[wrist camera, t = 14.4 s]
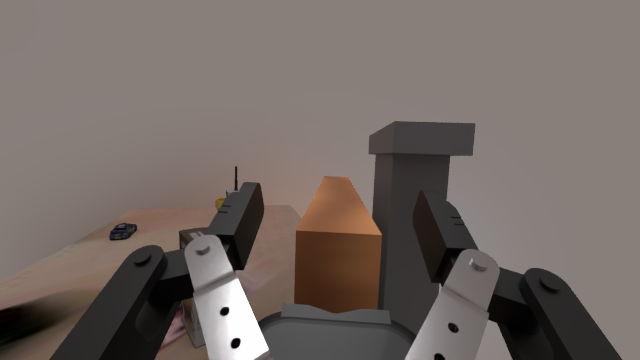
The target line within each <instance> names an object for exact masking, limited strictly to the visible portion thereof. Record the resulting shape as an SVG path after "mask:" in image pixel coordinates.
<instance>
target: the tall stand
mask: <svg viewBox="0 0 640 360" xmlns="http://www.w3.org/2000/svg"><path fill="white" fill-rule="evenodd" d="M474 133H475V124H473V123H436V122H401V121H395V122H393V123H391V124H389V125H388V126H386V127H384V128H382V129H381V130H379V131H377V132H376V133H374V134H372V135H370V137H369V154H376V161H375V179H374V197H373V215H372V219H373V221H374V222H375V224H376V226H377V227H378V229H379V231H380V232H381V234H382V243H381V259H380V276H379V292H378V309H377V310H388V311H389V314H390V319H391V320H394V321H396V322H398V323H400V324H402V325H404V326H405V327H407V328H408V329H410V330H411V331H412V332H413V333H414V334H416V335H418V333H419V331H420V329H421V327H422V325H423V323H424V321H425V319H426V318H427V316H428V314H429V312H430V310H431V308H432V306H433V304H434V302H435V300H436V298H437V297H438V293H439V283H431V280H430V277H429V274H428V271H427V267H426V264H425V261H424V258H423V255H422V252H421V248H420V245H419V242H418V239H417V236H416V233H415V229H414V226H413V220H412V218H413V211H414V208H415V205H416V201H417V198H418V194H419V192H420V190H431V191H438V193H439V194H440V196H441V198H442V200H443V201H446V199H447V187H448V175H449V174H448V173H449V163H450V156H471V155H473V143H474Z"/></svg>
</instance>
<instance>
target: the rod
mask: <svg viewBox="0 0 640 360" xmlns="http://www.w3.org/2000/svg"><path fill="white" fill-rule="evenodd" d="M381 243H382V234H381V232H380V231H379V229H378V227H377V226H376V224H375V222H374V221H373V219H372V217H371V216H370V214H369V212H368V211H367V209H366V207H365V205H364V204H363V202H362V201H361V199H360V197H359V195H358V193H357V192H356V190H355V188H354V187H353V185H352V183H351V182H350V180H349V178H348V177H330V176H325V177H324V179H323V180H322V183H321V184H320V186H319V188H318V190H317V192H316V194H315V196H314V198H313V199H312V201H311V203H310V205H309V207H308V209H307V211H306V213H305V215H304V216H303V218H302V220H301V222H300V224H299V226H298V228H297V230H296V255H295V292H294V304H301V305H310V306H313V307H316V308H319V309H322V310H325V311H328V312H331V313H335V314H339V313H344V312H349V311H354V310H359V309H374V310H377V309H378V292H379V276H380V259H381Z"/></svg>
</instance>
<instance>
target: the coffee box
mask: <svg viewBox="0 0 640 360" xmlns="http://www.w3.org/2000/svg"><path fill="white" fill-rule="evenodd" d="M207 229H208V227H207V228H194V229H188V230H182V231H179V238H180V249H184V248H186V247H187V245H188V244H189V243H190V242H191V241H192V240H194V239H196V238H197V237H200V236H203V235H204V234H205V232H206V231H207ZM181 317H182V321H183V323H184V325H185V327H186V330H187V332H188V334H189V336H190V339H191V341H192V343H193V345H194V347H195V348H197V347H199V346H201V345H204V344H206V343H205V339H204V335H203V331H202V328H201V324H200V320H199V316H198V312H197V308H196V305H195V301H194V298H190V299H186V300H182V301H181Z"/></svg>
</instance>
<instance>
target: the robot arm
mask: <svg viewBox="0 0 640 360" xmlns="http://www.w3.org/2000/svg"><path fill="white" fill-rule="evenodd" d="M263 215H264V204H263V197H262V191H261V186H260V183H252V182H251V183H250V182H244V183H243V185H242V187H241V188H240V190H239V192H232V193H231V194H230V195H229V196H227V197H226V198H225V200H224V202H223V203H222V205H221V207H220V209H219V210H218V213H217V214H216V215H215V217H214V219H213V220H212V222H211V224H210V226H209V227H208V229H207V231H206V232H205V234H204V235H203V236H200V237H197V238H196V239H194V240H192V241H191V242H190V243H189V244H188V245H187V247H186V248H184V249H180V250H175V251H170V252H165V253H164V252H163V250H162V248H161V247H159V246H156V245H149V246H145V247H142V248H139V249H137V250H136V251H134V252H132V253H131V254H130V255H129V256H128V257H127V258H126V259H125V260H124V262H123V263H122V264H121V266H120V267H119V268H118V270H117V271H116V272H115V274H114V275H113V276H112V278H111V279H110V280H109V282H108V283H107V284H106V286H105V287H104V288H103V289H102V291H101V292H100V293H99V295H98V296H97V297H96V299H95V300H94V301H93V303H92V304H91V305H90V307H89V308H88V309H87V311H86V312H85V313H84V315H83V316H82V317H81V318H80V320H79V321H78V322H77V324H76V325H75V326H74V328H73V329H72V330H71V332H70V333H69V334H68V336H67V337H66V338H65V340H64V341H63V342H62V344H61V345H60V346H59V348H58V349H57V350H56V351H55V353H54V354H53V355H52V357H51V358H50V359H49V360H154V359H155V357H156V355H157V353H158V351H159V349H160V346H161V344H162V342H163V340H164V338H165V336H166V334H167V331H168V329H169V327H170V325H171V323H172V321H173V319H174V316H175V314H176V312H177V310H178V308H179V306H180V304H181V301H182V300H186V299H190V298H194V301H195V305H196V308H197V312H198V316H199V320H200V324H201V328H202V331H203V335H204V339H205V343H206V347H207V351H208V354H209V358H210V360H475V357H476V354H477V351H478V348H479V345H480V342H481V339H482V336H483V333H484V330H485V327H486V324H487V321H488V320H491V321H494V322H496V323H497V324H498V326H499V328H500V331H501V333H502V336H503V338H504V340H505V343H506V344H507V348H508V350H509V352H510V355H511V357H512V359H513V360H622V359H621V357H620V356H619V354H618V353H617V352H616V350H615V349H614V348H613V346H612V345H611V343H610V342H609V341H608V339H607V338H606V337H605V335H604V334H603V333H602V331H601V330H600V328H599V327H598V326H597V324H596V323H595V321H594V320H593V319H592V317H591V316H590V314H589V313H588V312H587V310H586V309H585V308H584V306H583V305H582V303H581V302H580V301H579V299H578V298H577V297H576V295H575V294H574V292H573V291H572V290H571V288H570V287H569V286H568V285H567V284H566V282H565V281H563V280H562V279H561V278H559V277H558V276H557V275H555V274H553V273H551V272H549V271H547V270H544V269H540V268H531V269H529V270H527V271H526V273H525V274H524V275H523V274H520V273H516V272H513V271H510V270H507V269H503V268H501V267H499V266H498V264H497V263H496V261H495V260H494V259H493V258H492V257H490V256H489V255H487V254H486V253H484V252H482V251H479V250H478V248H477V246H476V244H475V242H474V240H473V238H472V236H471V235H470V233H469V231H468V229H467V228H466V226H465V224H464V222H463V220H462V219H461V216H460V215H459V213H458V211H457V209H456V208H455V207H454V206H453V205H451V204H450V203H449V202H447V201H443V200H442V198H441V196H440V194H439V193H438V191H431V190H420V192H419V194H418V198H417V201H416V205H415V208H414V211H413V218H412V220H413V226H414V229H415V233H416V236H417V239H418V242H419V245H420V248H421V252H422V255H423V258H424V261H425V264H426V267H427V271H428V274H429V277H430V280H431V283H441V286H442V289H441V291H440V293H439V295H438V297H437V298H436V300H435V302H434V304H433V306H432V308H431V310H430V312H429V314H428V316H427V318H426V319H425V321H424V323H423V325H422V327H421V329H420V331H419V333H418V335H416V334H414V333H413V332H412V331H411V330H410V329H408V328H407V327H405V326H404V325H402V324H400V323H398V322H396V321H394V320H391V319H390V314H389V311H388V310H374V309H359V310H354V311H349V312H344V313H339V314H334V313H331V312H328V311H325V310H322V309H319V308H316V307H313V306H310V305H301V304H287V303H283V308H282V311H281V312H277V313H274V314H271V315H269V316H267V317H265V318H263V319H262V320H260V321H259V322H256V319H255V317H254V315H253V312H252V310H251V308H250V306H249V303H248V301H247V299H246V296H245V294H244V292H243V289H242V287H241V285H240V283H239V280H238V278H237V276H236V274H235V270H244V268H245V265H246V263H247V260H248V257H249V254H250V252H251V249H252V246H253V243H254V241H255V238H256V235H257V232H258V229H259V227H260V224H261V221H262V218H263Z"/></svg>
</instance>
